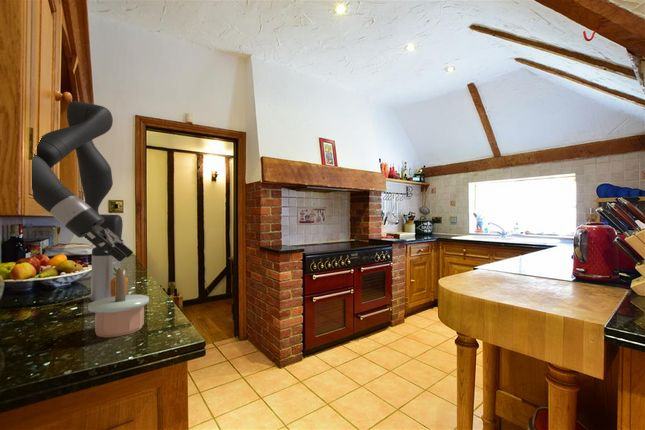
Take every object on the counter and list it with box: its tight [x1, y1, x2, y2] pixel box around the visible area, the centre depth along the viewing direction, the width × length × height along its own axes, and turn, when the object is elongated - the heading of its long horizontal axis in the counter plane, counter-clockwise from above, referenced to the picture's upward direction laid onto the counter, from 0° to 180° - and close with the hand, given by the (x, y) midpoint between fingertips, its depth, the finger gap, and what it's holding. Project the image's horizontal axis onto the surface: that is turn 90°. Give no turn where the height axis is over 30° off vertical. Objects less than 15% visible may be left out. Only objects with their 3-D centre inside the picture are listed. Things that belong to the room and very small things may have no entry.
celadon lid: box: [87, 268, 150, 313], centre depth 81 cm, size 14×14×10 cm
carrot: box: [111, 267, 129, 297], centre depth 99 cm, size 5×5×15 cm
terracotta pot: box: [94, 305, 145, 338], centre depth 81 cm, size 11×11×7 cm
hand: (127, 257), depth 82 cm, fingers open, 8 cm apart
